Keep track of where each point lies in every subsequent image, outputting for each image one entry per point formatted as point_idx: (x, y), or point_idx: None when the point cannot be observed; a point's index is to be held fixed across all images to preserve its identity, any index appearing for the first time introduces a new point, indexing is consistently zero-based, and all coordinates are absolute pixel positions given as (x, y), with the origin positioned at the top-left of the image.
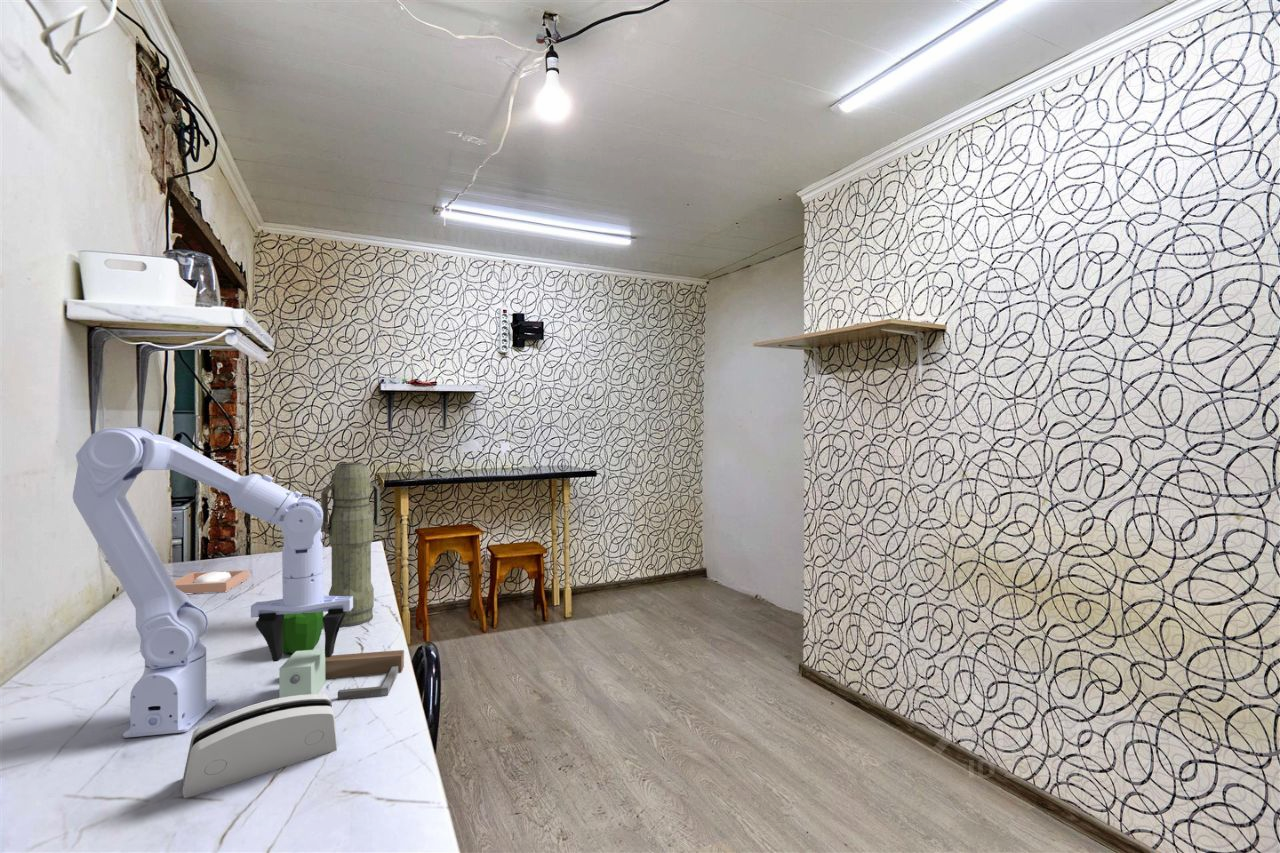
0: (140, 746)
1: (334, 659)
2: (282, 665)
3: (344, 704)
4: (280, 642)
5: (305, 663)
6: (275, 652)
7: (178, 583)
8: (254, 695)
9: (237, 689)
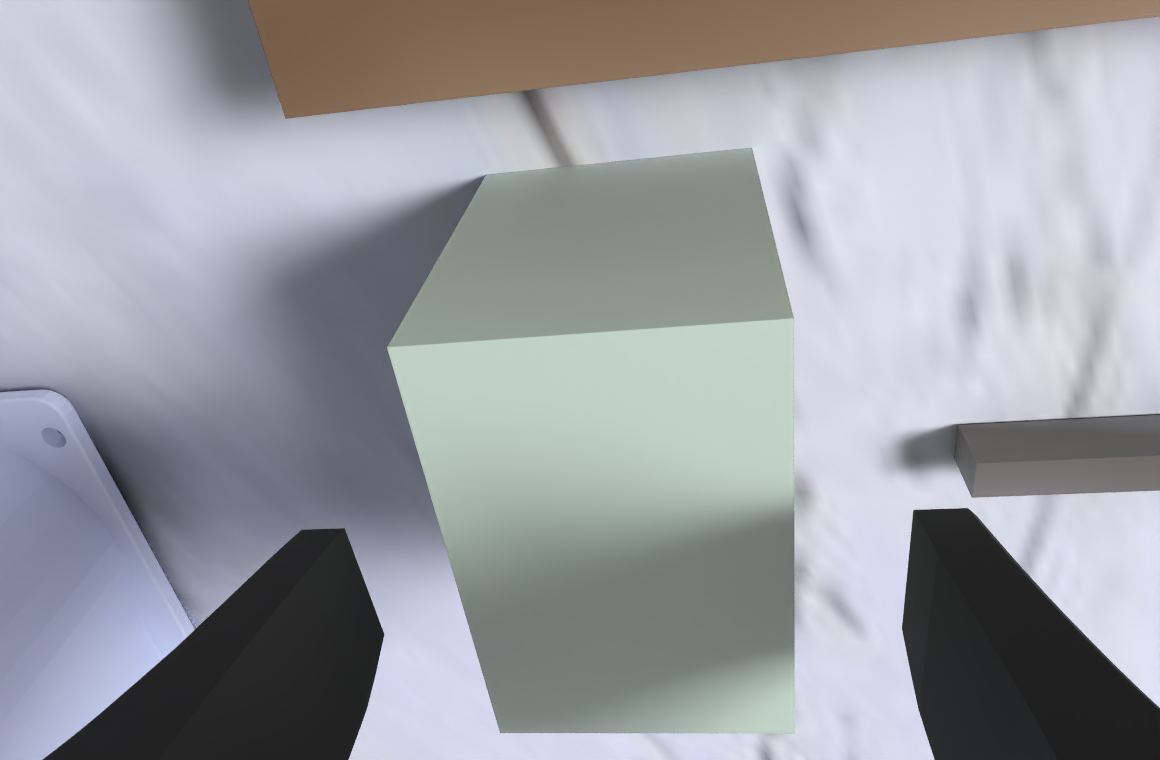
0: None
1: (828, 8)
2: (487, 684)
3: (1020, 521)
4: (267, 709)
5: (708, 678)
6: (343, 748)
7: None
8: (243, 312)
9: (6, 189)
